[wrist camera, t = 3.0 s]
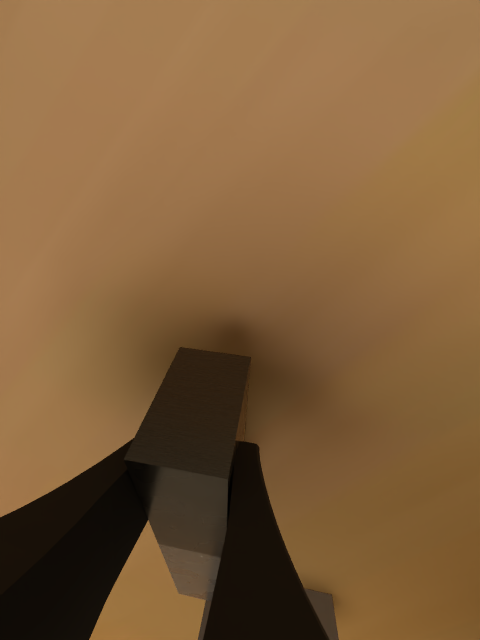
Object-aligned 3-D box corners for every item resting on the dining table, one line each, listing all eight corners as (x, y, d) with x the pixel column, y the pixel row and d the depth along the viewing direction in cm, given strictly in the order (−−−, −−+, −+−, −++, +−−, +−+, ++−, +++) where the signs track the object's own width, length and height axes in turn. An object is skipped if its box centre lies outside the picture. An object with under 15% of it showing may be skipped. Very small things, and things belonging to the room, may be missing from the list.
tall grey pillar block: (179, 347, 10) (123, 459, 7) (250, 357, 10) (228, 478, 6) (199, 509, 18) (178, 593, 15) (237, 517, 18) (224, 604, 15)
